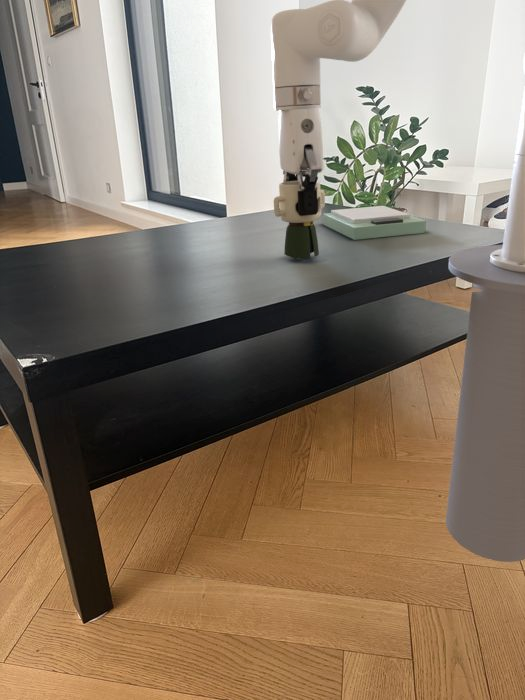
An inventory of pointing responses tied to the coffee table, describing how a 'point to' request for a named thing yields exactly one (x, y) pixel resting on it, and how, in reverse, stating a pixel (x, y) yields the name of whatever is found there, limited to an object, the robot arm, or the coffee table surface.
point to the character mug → (298, 220)
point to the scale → (373, 222)
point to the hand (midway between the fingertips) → (300, 210)
